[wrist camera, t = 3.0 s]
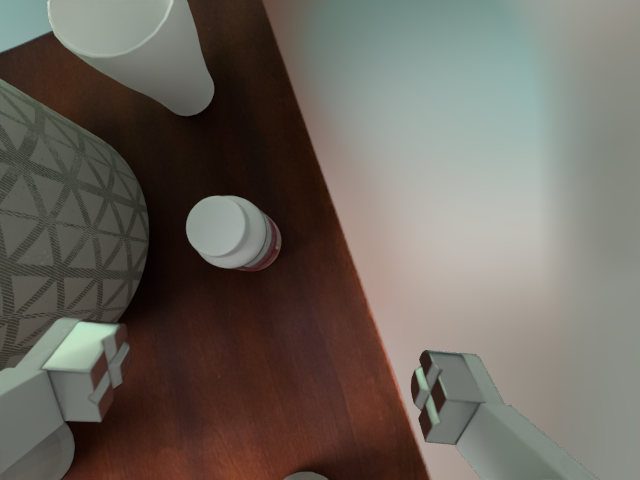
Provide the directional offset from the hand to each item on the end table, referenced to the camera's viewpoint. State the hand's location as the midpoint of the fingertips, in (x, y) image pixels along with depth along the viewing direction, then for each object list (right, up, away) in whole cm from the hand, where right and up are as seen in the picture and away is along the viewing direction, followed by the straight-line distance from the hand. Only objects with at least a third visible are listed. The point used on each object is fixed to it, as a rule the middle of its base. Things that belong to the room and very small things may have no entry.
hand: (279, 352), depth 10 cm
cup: (-14, +20, +31) cm, 39 cm away
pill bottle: (-6, +3, +28) cm, 29 cm away
